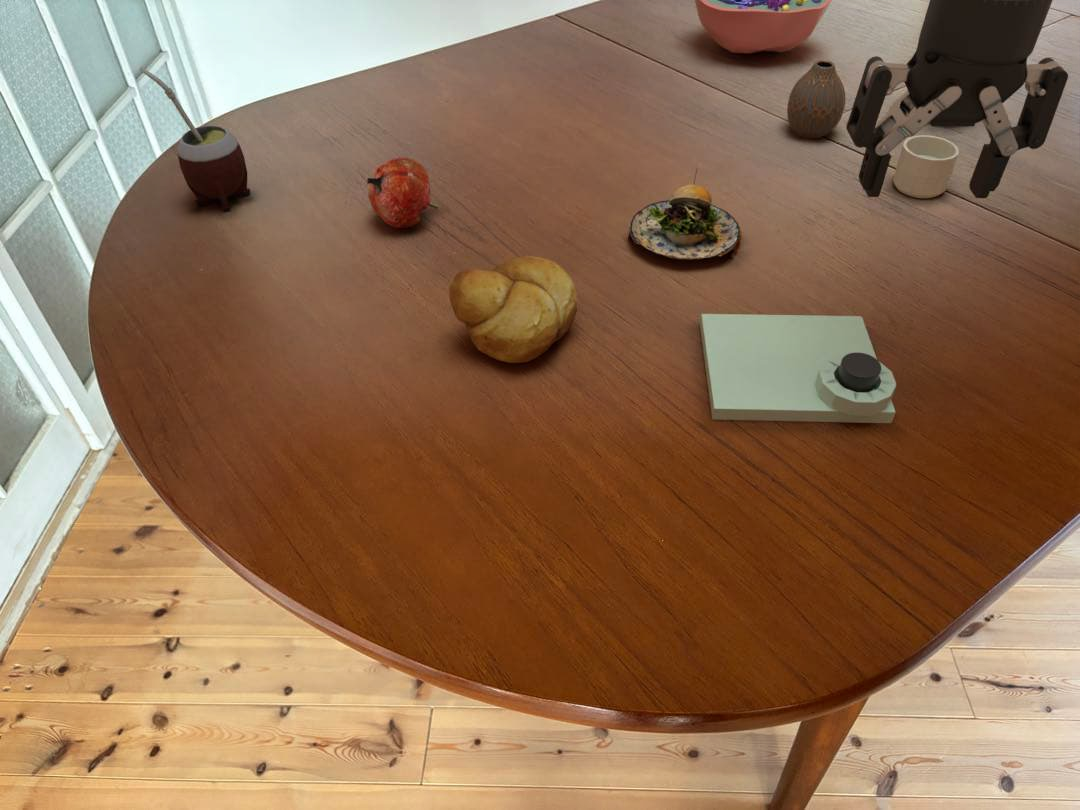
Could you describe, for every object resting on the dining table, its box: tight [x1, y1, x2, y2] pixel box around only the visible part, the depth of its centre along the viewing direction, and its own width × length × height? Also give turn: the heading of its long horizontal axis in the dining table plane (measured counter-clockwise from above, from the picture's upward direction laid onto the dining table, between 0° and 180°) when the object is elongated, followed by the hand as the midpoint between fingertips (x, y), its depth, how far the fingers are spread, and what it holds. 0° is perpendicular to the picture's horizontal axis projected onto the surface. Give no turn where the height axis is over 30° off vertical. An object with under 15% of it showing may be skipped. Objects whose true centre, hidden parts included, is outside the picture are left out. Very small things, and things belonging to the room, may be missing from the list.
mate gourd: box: [139, 66, 251, 213], centre depth 96 cm, size 8×8×15 cm
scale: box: [699, 313, 897, 424], centre depth 76 cm, size 15×14×3 cm
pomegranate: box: [366, 157, 439, 229], centre depth 95 cm, size 7×7×10 cm
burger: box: [627, 168, 742, 261], centre depth 90 cm, size 12×12×8 cm
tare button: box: [837, 352, 881, 393], centre depth 72 cm, size 3×3×2 cm
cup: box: [892, 134, 960, 199], centre depth 98 cm, size 6×6×5 cm
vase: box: [786, 59, 846, 139], centre depth 108 cm, size 7×7×9 cm
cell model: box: [694, 0, 833, 54], centre depth 126 cm, size 17×20×11 cm
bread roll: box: [448, 255, 579, 364], centre depth 79 cm, size 13×10×8 cm
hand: (923, 192), depth 69 cm, fingers open, 8 cm apart
